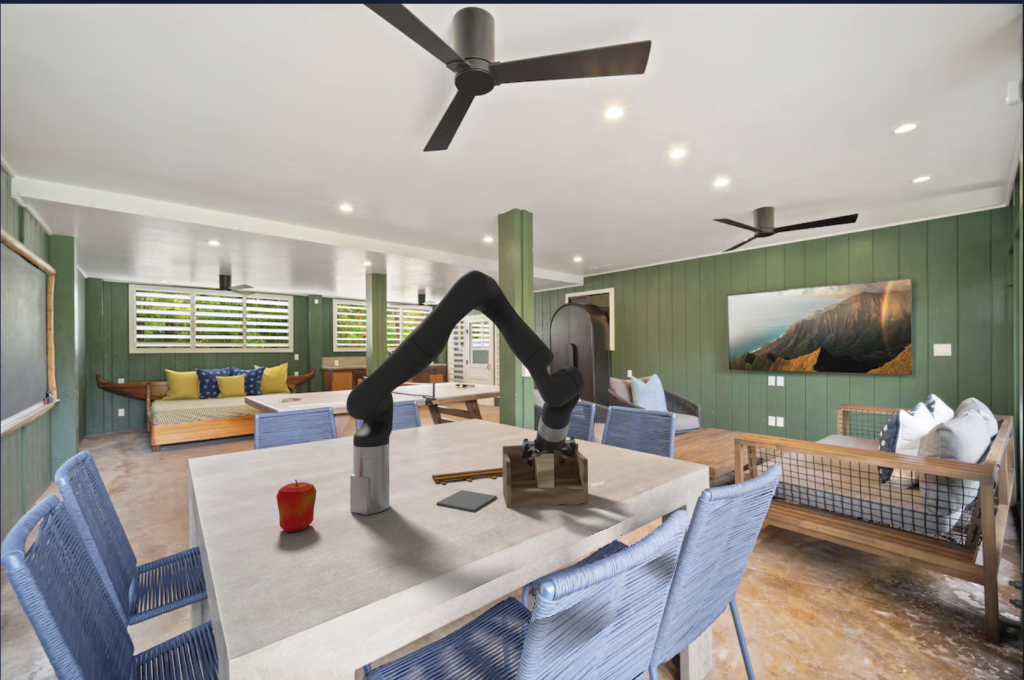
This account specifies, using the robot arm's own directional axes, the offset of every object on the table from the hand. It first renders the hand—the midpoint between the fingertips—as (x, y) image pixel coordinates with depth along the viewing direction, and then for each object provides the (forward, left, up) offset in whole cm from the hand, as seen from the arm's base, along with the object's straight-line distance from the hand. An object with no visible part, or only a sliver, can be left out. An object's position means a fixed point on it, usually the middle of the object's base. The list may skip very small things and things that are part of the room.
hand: (545, 462), depth 122 cm
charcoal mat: (-10, +20, -11) cm, 24 cm away
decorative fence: (+11, +31, -11) cm, 35 cm away
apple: (-44, +46, -11) cm, 64 cm away
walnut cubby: (+2, +2, -11) cm, 11 cm away
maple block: (+1, +1, -7) cm, 7 cm away
